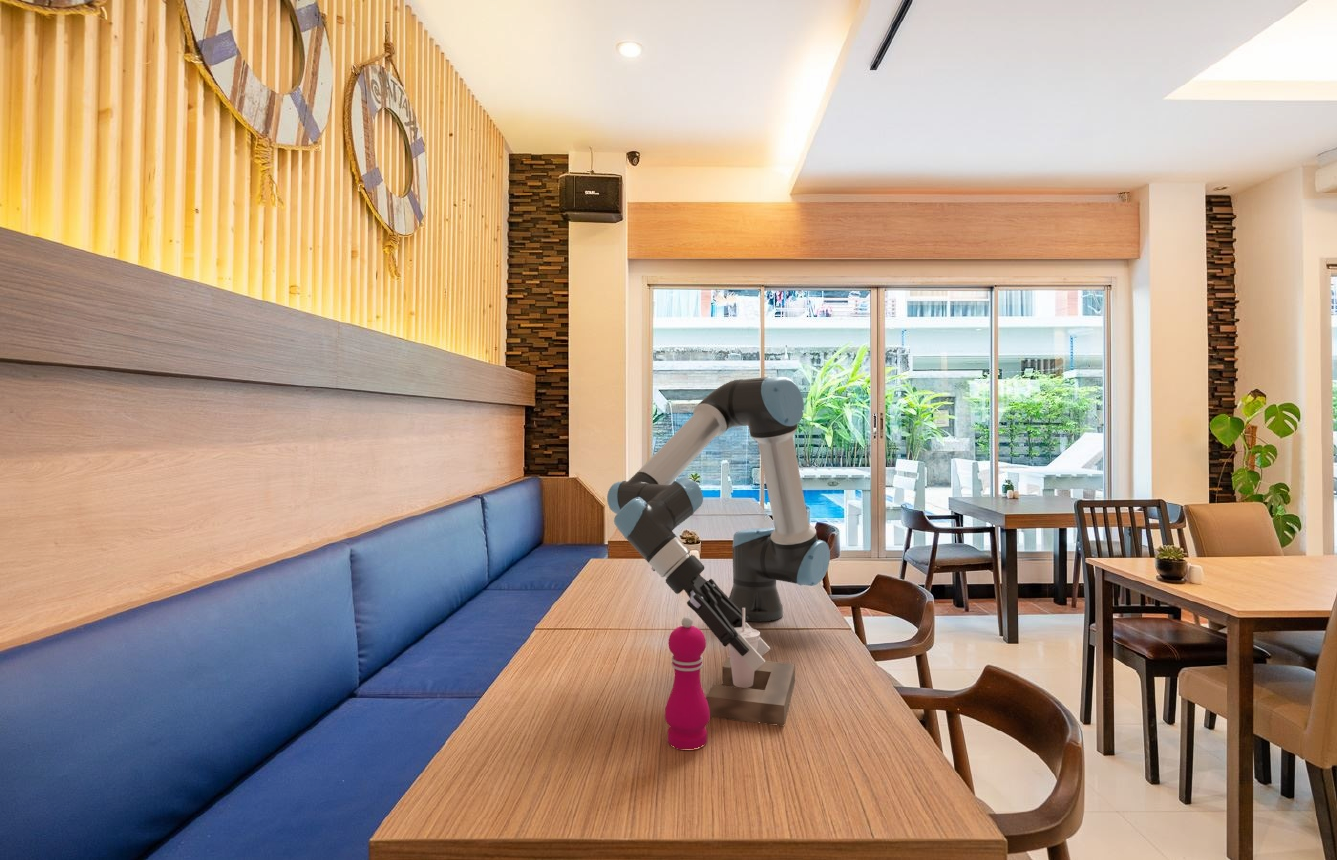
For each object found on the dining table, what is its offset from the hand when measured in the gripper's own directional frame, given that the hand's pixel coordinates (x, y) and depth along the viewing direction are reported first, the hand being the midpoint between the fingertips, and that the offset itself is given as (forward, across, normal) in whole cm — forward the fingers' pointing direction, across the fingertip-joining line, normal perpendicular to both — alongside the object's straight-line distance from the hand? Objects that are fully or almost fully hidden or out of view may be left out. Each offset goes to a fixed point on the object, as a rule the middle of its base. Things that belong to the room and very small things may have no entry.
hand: (762, 659), depth 118 cm
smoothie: (+1, 0, -6) cm, 6 cm away
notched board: (+4, 0, -6) cm, 8 cm away
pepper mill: (-1, +19, -12) cm, 23 cm away
